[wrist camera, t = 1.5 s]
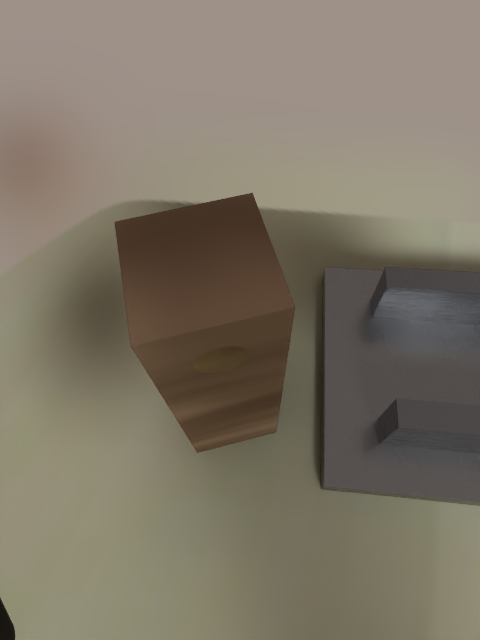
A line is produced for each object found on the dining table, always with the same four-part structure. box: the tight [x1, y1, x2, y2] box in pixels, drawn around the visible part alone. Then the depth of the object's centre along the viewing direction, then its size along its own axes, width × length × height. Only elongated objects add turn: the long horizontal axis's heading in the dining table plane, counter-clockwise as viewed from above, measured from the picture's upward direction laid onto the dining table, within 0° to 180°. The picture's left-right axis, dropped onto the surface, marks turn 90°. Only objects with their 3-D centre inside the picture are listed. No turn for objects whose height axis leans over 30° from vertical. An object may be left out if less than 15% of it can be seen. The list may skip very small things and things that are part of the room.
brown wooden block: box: [115, 193, 295, 453], centre depth 16 cm, size 4×4×12 cm
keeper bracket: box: [321, 267, 480, 505], centre depth 20 cm, size 12×14×4 cm
